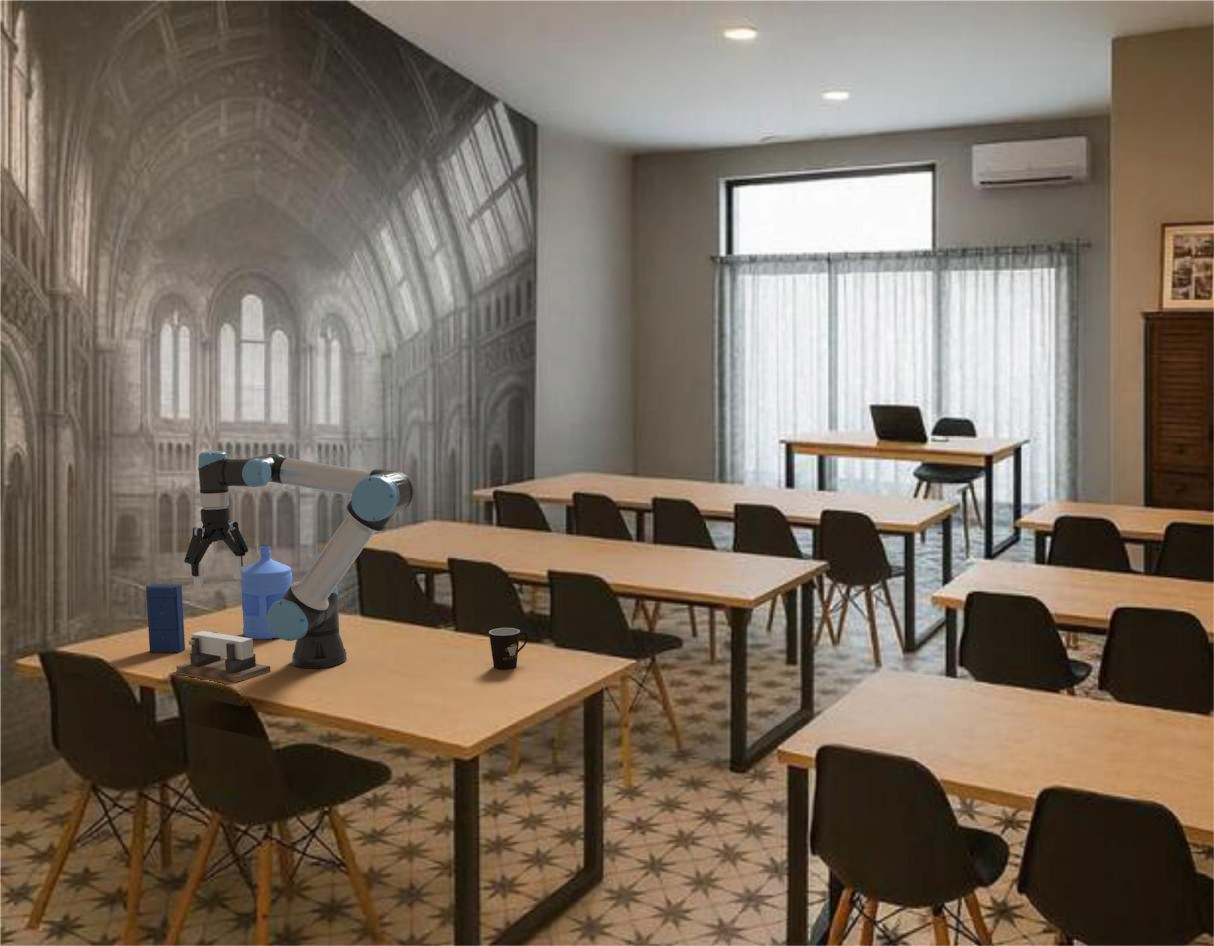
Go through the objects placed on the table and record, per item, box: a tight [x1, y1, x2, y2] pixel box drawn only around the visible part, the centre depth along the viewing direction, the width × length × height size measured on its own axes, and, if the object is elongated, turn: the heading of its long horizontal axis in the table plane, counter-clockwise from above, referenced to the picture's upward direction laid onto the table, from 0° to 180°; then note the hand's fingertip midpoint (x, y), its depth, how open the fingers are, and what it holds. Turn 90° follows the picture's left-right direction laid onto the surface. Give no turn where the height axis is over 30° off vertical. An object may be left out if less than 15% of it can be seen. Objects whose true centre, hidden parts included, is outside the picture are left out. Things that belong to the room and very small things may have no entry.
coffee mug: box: [488, 627, 529, 671], centre depth 318 cm, size 12×9×10 cm
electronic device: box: [145, 583, 186, 653], centre depth 340 cm, size 10×5×20 cm, turn 84°
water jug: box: [240, 545, 293, 640], centre depth 358 cm, size 16×16×28 cm
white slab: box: [190, 630, 254, 660], centre depth 317 cm, size 20×4×5 cm, turn 60°
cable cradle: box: [176, 631, 271, 683], centre depth 317 cm, size 24×12×10 cm, turn 60°
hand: (218, 583), depth 315 cm, fingers open, 13 cm apart
